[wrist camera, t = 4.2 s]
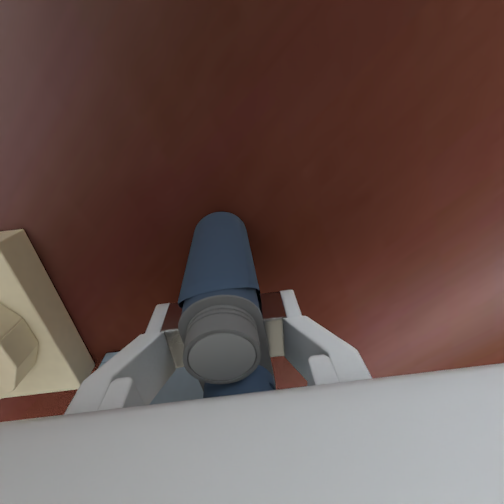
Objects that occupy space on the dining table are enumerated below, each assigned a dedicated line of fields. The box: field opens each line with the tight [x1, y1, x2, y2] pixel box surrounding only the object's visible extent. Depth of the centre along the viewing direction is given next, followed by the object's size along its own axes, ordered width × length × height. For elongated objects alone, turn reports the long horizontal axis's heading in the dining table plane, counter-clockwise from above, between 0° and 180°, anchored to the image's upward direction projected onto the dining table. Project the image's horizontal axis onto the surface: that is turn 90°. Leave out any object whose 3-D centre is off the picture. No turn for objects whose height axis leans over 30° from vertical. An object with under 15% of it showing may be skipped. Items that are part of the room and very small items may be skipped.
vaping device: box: [178, 212, 276, 398], centre depth 9 cm, size 3×5×12 cm, turn 10°
